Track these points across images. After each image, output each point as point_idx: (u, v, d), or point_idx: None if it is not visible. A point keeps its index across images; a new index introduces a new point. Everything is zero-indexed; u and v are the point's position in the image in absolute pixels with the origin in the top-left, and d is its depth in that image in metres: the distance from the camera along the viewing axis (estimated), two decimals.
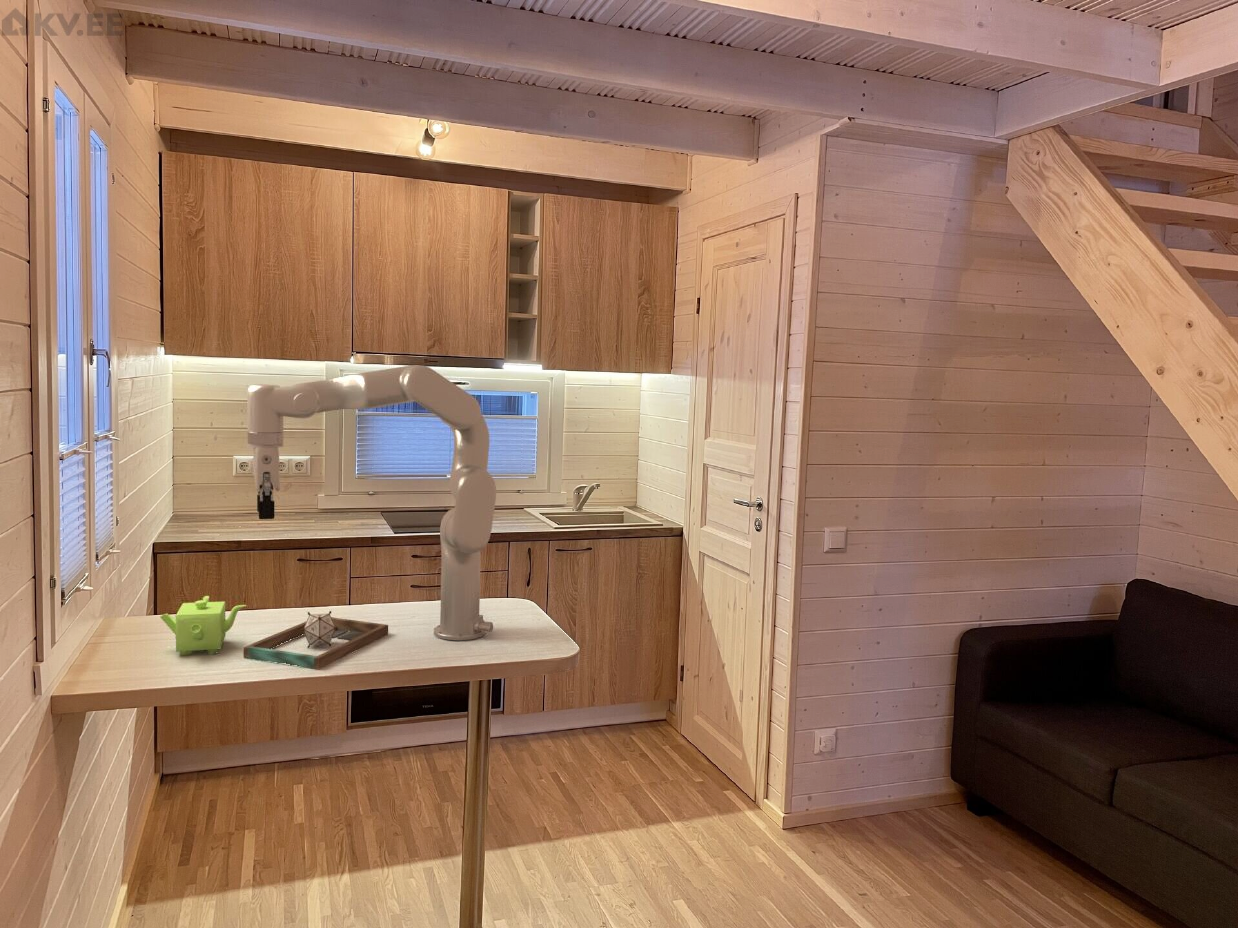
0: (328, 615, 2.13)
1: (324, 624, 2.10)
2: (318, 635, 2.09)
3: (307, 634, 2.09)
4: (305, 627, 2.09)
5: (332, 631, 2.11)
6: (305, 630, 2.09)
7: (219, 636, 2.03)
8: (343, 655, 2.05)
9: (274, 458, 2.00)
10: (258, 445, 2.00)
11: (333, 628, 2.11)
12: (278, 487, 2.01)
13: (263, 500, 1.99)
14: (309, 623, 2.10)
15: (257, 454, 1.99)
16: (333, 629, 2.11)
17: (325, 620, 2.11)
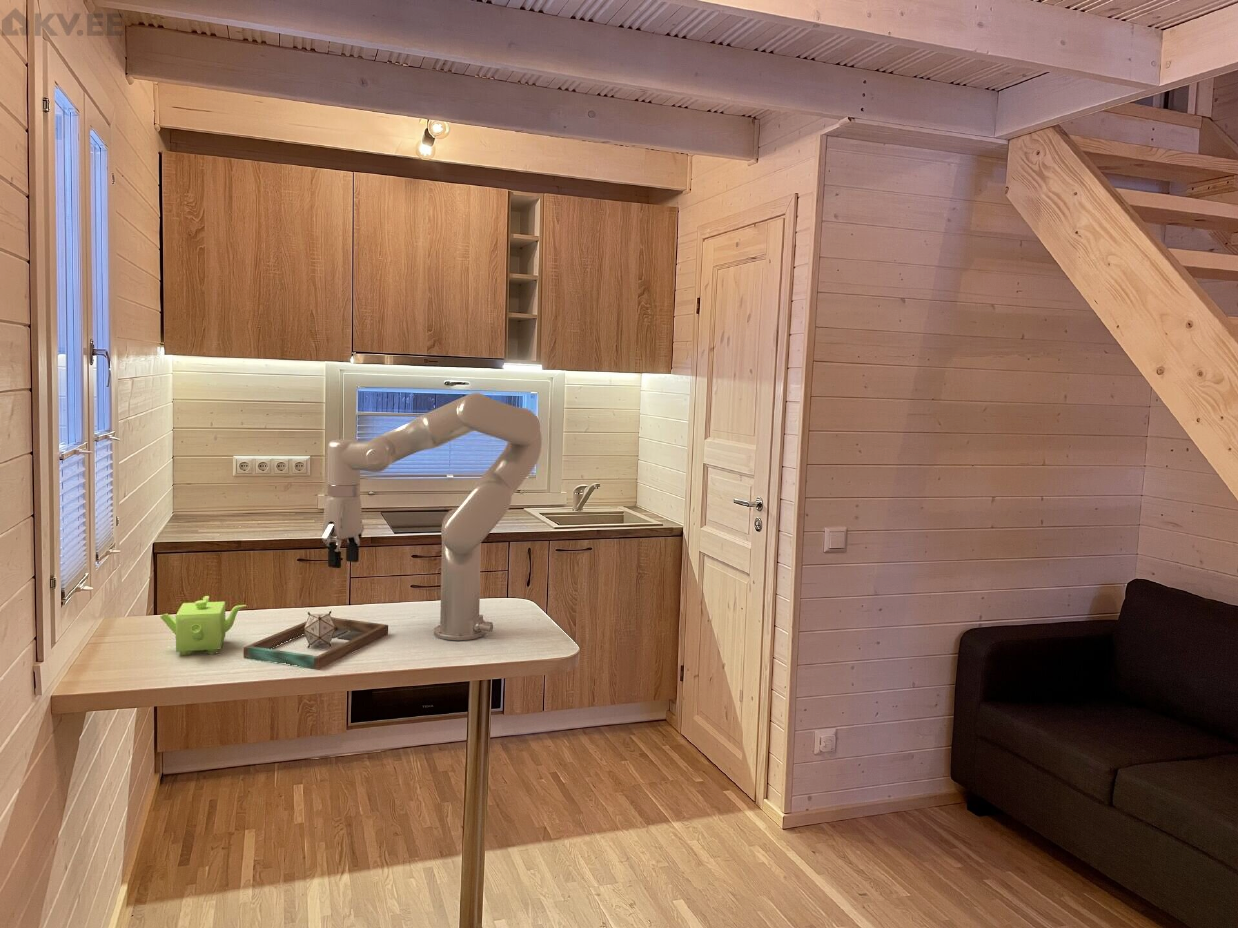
0: (328, 615, 2.13)
1: (324, 624, 2.10)
2: (318, 635, 2.09)
3: (307, 634, 2.09)
4: (305, 627, 2.09)
5: (332, 631, 2.11)
6: (305, 630, 2.09)
7: (219, 636, 2.03)
8: (343, 655, 2.05)
9: None
10: None
11: (333, 628, 2.11)
12: None
13: None
14: (309, 623, 2.10)
15: None
16: (333, 629, 2.11)
17: (325, 620, 2.11)
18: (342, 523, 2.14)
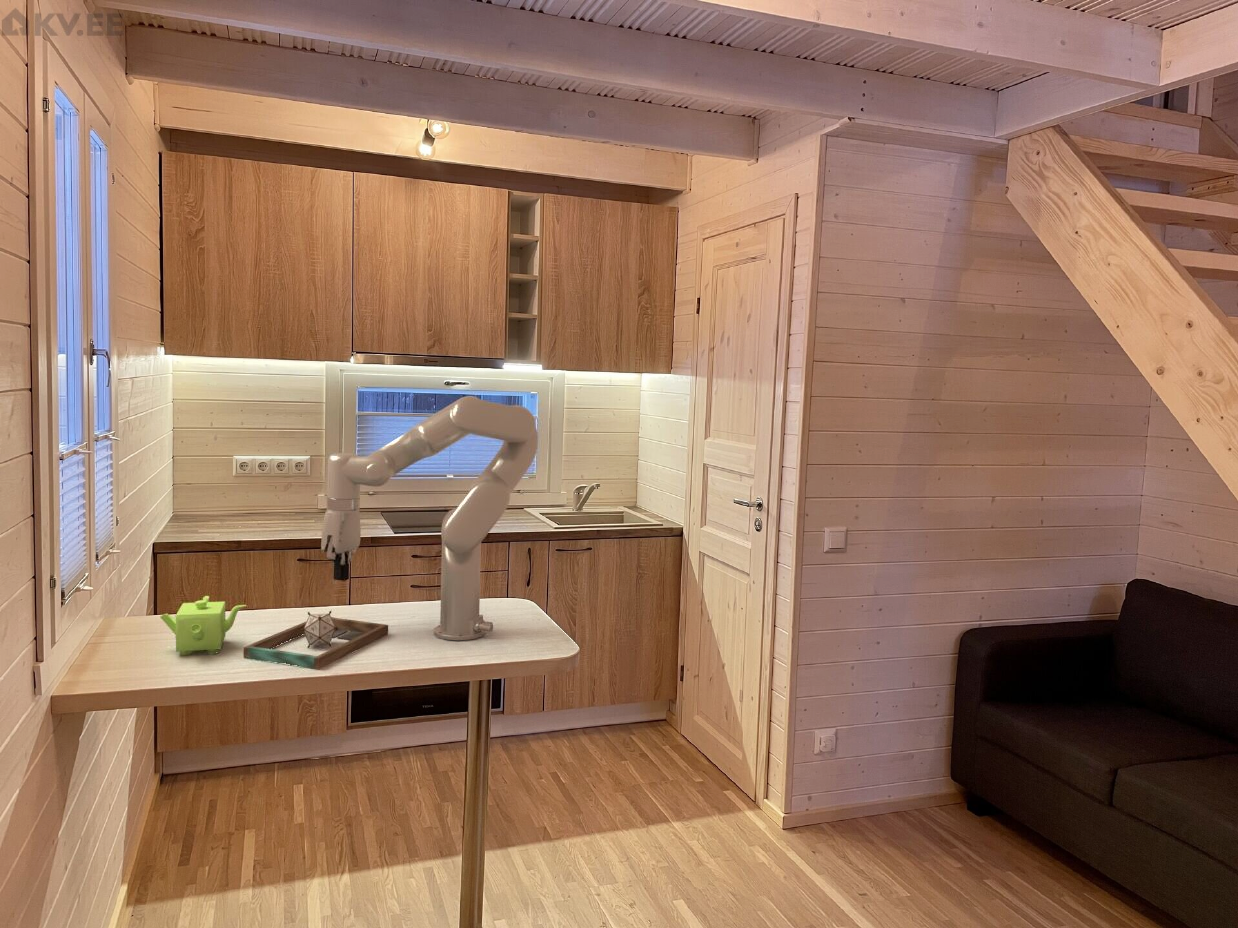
0: (328, 615, 2.13)
1: (324, 624, 2.10)
2: (318, 635, 2.09)
3: (307, 634, 2.09)
4: (305, 627, 2.09)
5: (332, 631, 2.11)
6: (305, 630, 2.09)
7: (219, 636, 2.03)
8: (343, 655, 2.05)
9: None
10: None
11: (333, 628, 2.11)
12: None
13: None
14: (309, 623, 2.10)
15: None
16: (333, 629, 2.11)
17: (325, 620, 2.11)
18: (341, 537, 2.15)
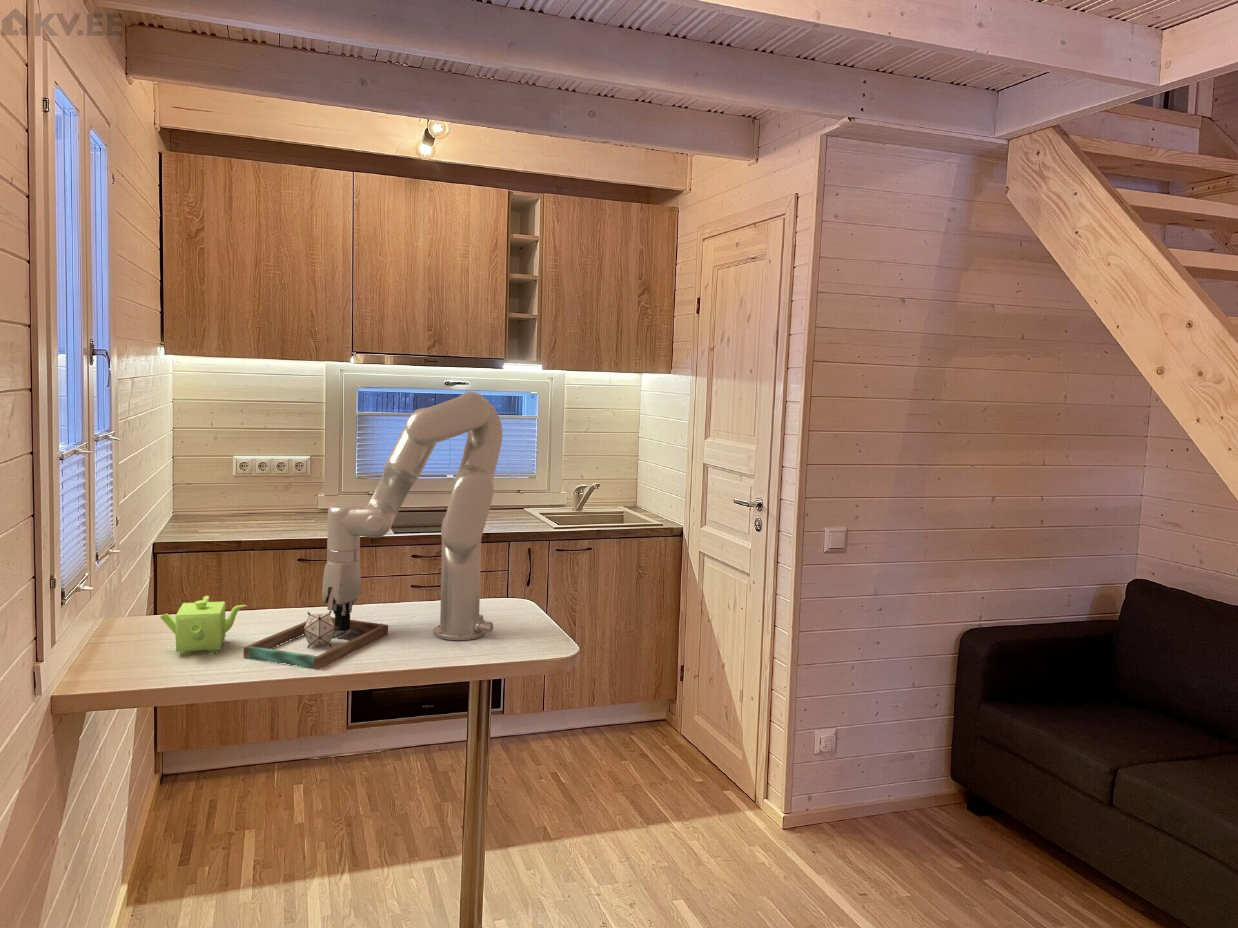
0: (328, 615, 2.13)
1: (324, 624, 2.10)
2: (318, 635, 2.09)
3: (307, 634, 2.09)
4: (305, 627, 2.09)
5: (332, 631, 2.11)
6: (305, 630, 2.09)
7: (219, 636, 2.03)
8: (343, 655, 2.05)
9: None
10: None
11: (333, 628, 2.11)
12: None
13: None
14: (309, 623, 2.10)
15: (359, 564, 2.23)
16: (333, 629, 2.11)
17: (325, 620, 2.11)
18: (341, 588, 2.16)
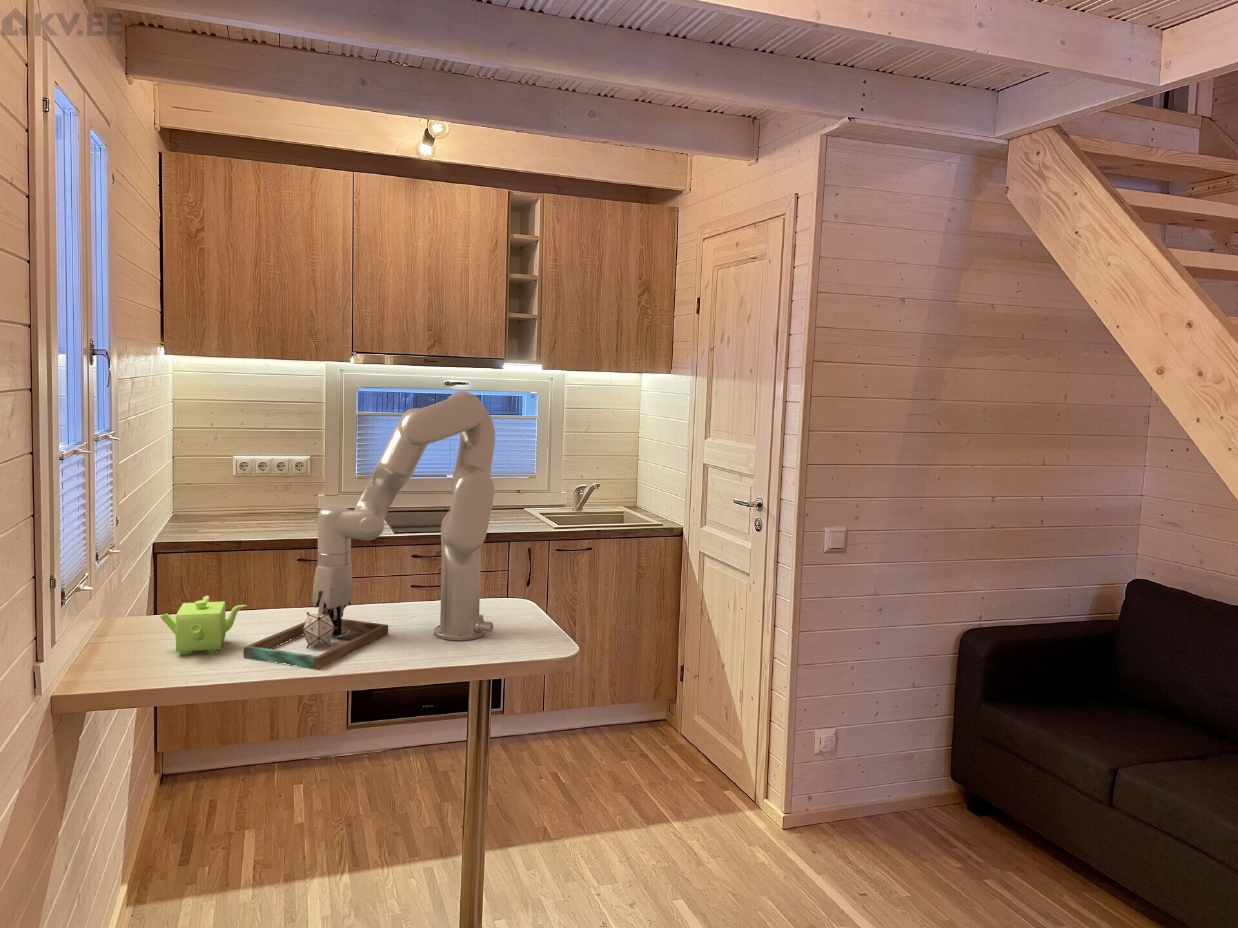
0: (327, 615, 2.13)
1: (323, 624, 2.10)
2: (317, 635, 2.08)
3: (306, 634, 2.09)
4: (304, 627, 2.09)
5: (331, 631, 2.11)
6: (304, 630, 2.09)
7: (219, 636, 2.03)
8: (343, 655, 2.05)
9: None
10: None
11: (332, 628, 2.11)
12: None
13: None
14: (309, 623, 2.09)
15: None
16: (332, 629, 2.11)
17: (325, 620, 2.11)
18: (332, 592, 2.13)
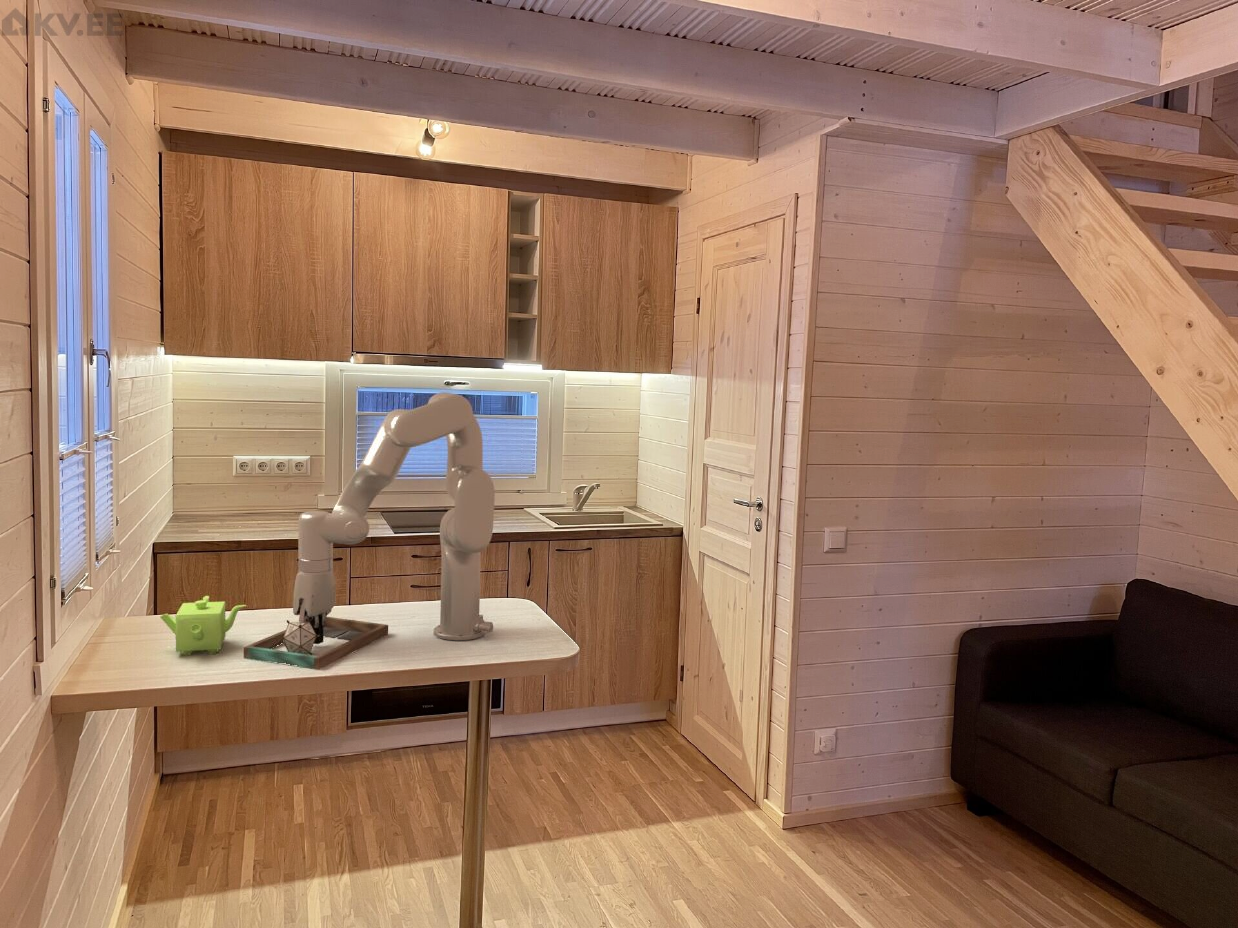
0: (308, 623, 2.06)
1: (304, 632, 2.03)
2: (298, 644, 2.02)
3: (287, 643, 2.02)
4: (285, 636, 2.02)
5: (313, 639, 2.04)
6: (285, 639, 2.02)
7: (219, 636, 2.03)
8: (343, 655, 2.05)
9: None
10: None
11: (314, 636, 2.04)
12: None
13: None
14: (289, 632, 2.03)
15: (333, 574, 2.13)
16: (314, 637, 2.04)
17: (306, 628, 2.04)
18: (313, 599, 2.06)
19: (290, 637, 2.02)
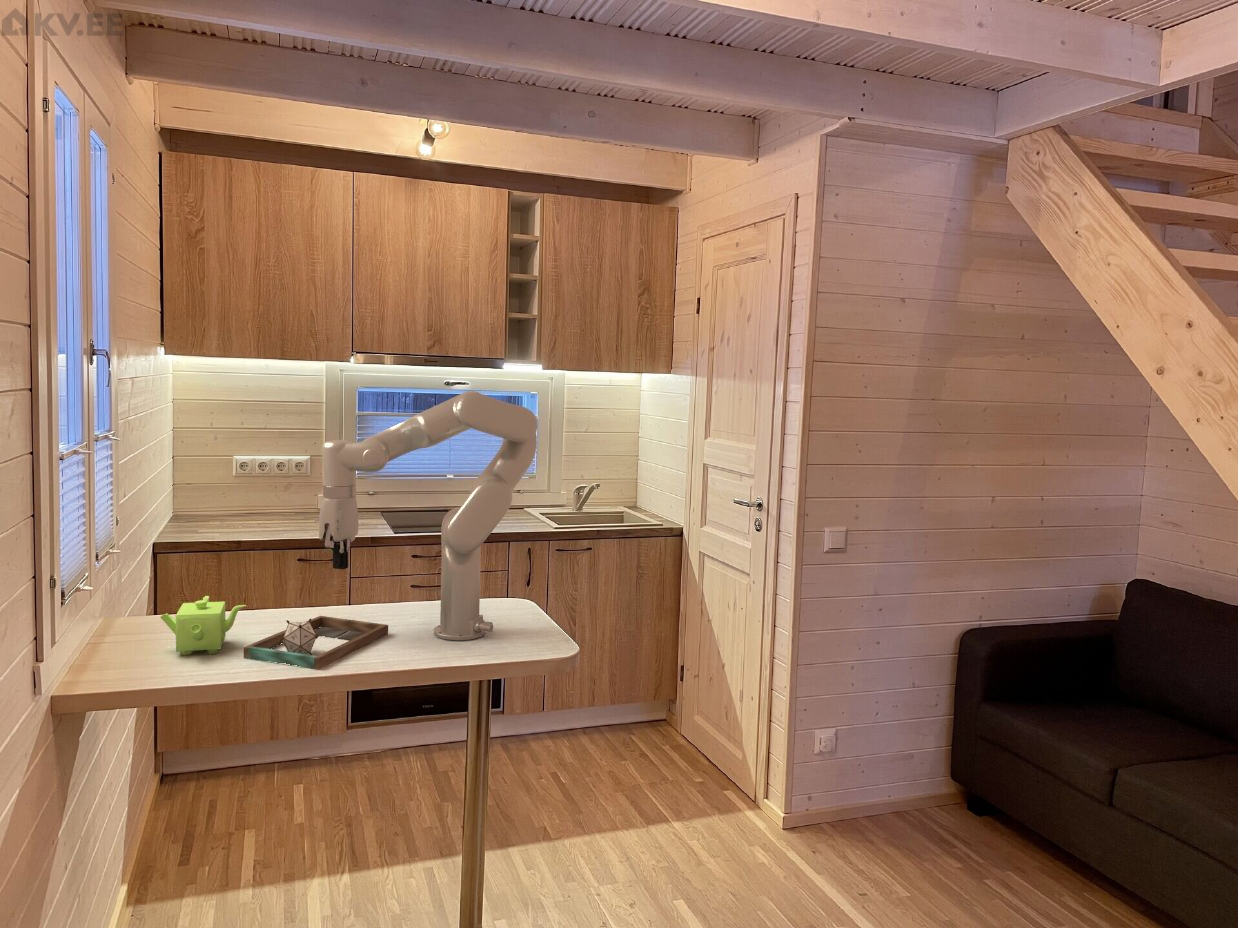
0: (308, 623, 2.06)
1: (304, 632, 2.03)
2: (298, 644, 2.02)
3: (287, 643, 2.02)
4: (285, 636, 2.02)
5: (313, 639, 2.04)
6: (285, 639, 2.02)
7: (219, 636, 2.03)
8: (343, 655, 2.05)
9: None
10: None
11: (314, 636, 2.04)
12: None
13: None
14: (289, 632, 2.03)
15: None
16: (314, 637, 2.04)
17: (306, 628, 2.04)
18: (338, 524, 2.12)
19: (290, 637, 2.02)
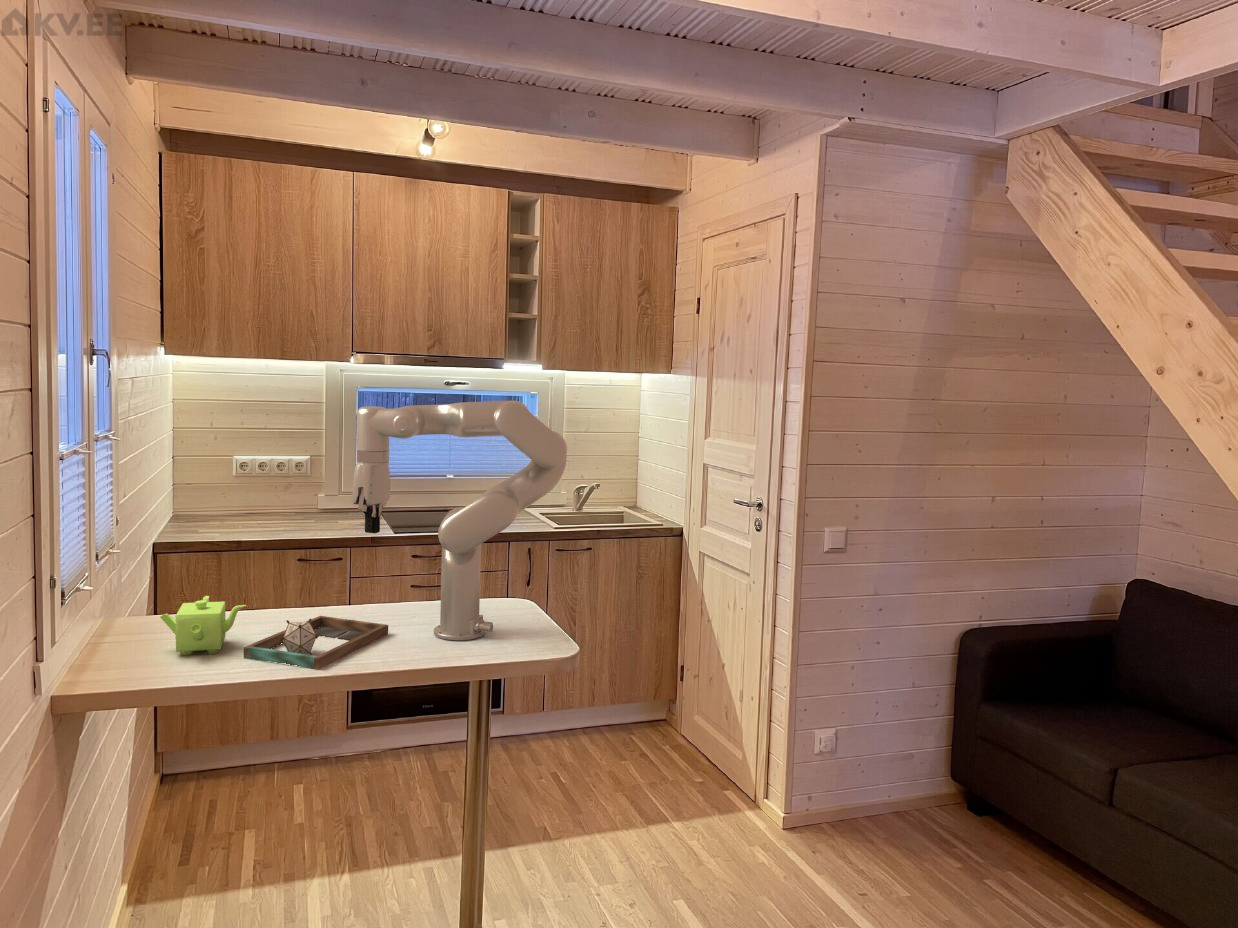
0: (308, 623, 2.06)
1: (304, 632, 2.03)
2: (298, 644, 2.02)
3: (287, 643, 2.02)
4: (285, 636, 2.02)
5: (313, 639, 2.04)
6: (285, 639, 2.02)
7: (219, 636, 2.03)
8: (343, 655, 2.05)
9: None
10: None
11: (314, 636, 2.04)
12: None
13: None
14: (289, 632, 2.03)
15: None
16: (314, 637, 2.04)
17: (306, 628, 2.04)
18: (372, 489, 2.16)
19: (290, 637, 2.02)
